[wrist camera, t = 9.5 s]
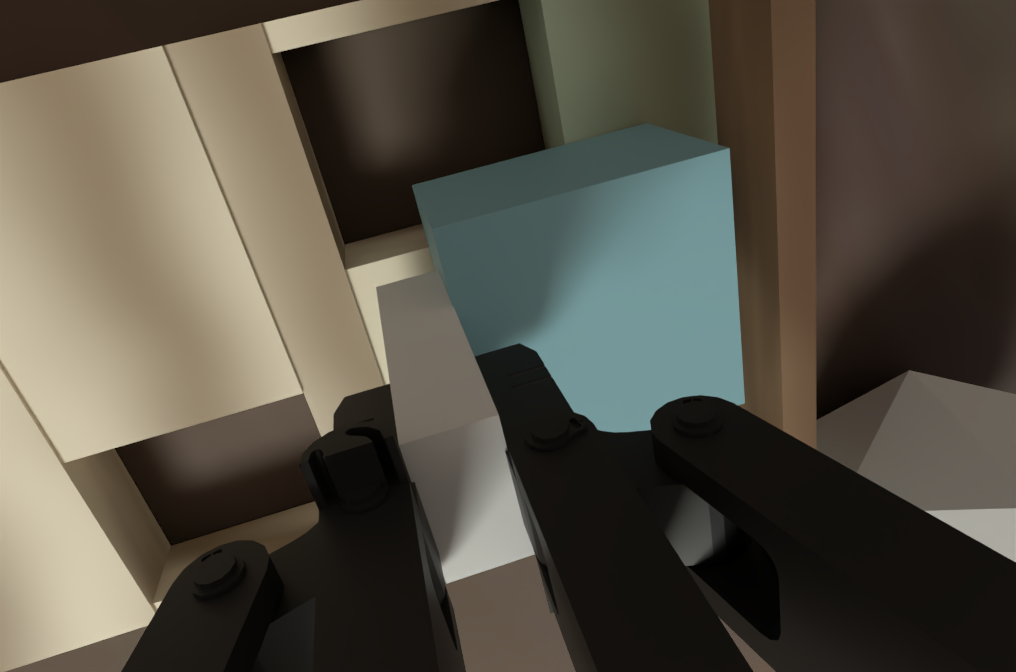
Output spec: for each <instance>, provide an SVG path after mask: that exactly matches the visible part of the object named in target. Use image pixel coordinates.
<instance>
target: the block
mask: <svg viewBox="0 0 1016 672" xmlns="http://www.w3.org/2000/svg"><path fill="white" fill-rule="evenodd" d="M412 188H413V192H414V196H415V199H416V203H417V206H418V210H419V214H420V217H421V221H422V225H423V228H424V232H425V235H426V239H427V243H428V246H429V250H430V253H431V257H432V261H433V264H434V268H435V270H438V272H439V274H440V276H441V279H442V281H443V284H444V286H445V289H446V291H447V294H448V296H449V299H450V301H451V304H452V306H453V307H454V309H455V311H456V314H457V316H458V318H459V321H460V323H461V326H462V328H463V330H464V333H465V335H466V338H467V340H468V342H469V345H470V347H471V350H472V352H473V354H474V356H478V355H481V354H485V353H488V352H491V351H495V350H498V349H501V348H505V347H508V346H511V345H515V344H518V343H520V344H522V345H524V346H526V347H528V348H530V349H533V350H535V351H537V353H538V355H539V356H540V358H541V360H542V361H543V363H544V365H545V367H546V368H547V369H548V371H549V373H550V374H551V377H553V379H554V381H555V382H556V384H557V386H558V387H559V389H560V390H561V392H562V394H563V395H564V397H565V399H566V400H567V402H568V403H569V405H570V407H571V408H572V410H573V412H575V413H578V414H581V415H584V416H586V417H587V418H588V419H589V420H590V421H591V422H592V423H594V425H595V426H596V428H597V430H600V431H607V432H634V431H644V430H651V424H650V420H651V418H652V417H653V415H654V413H655V411H656V410H657V409H659V408H660V407H662V406H663V405H664V404H666V403H667V402H670V401H673V400H676V399H679V398H682V397H688V396H698V395H703V396H712V397H719V398H722V399H724V400H727V401H730V402H732V403H734V404H736V405H741V404H744V403H745V396H744V379H743V363H742V346H741V329H740V313H739V296H738V280H737V263H736V246H735V230H734V213H733V197H732V180H731V163H730V148H727V147H724V146H721V145H718V144H714V143H711V142H708V141H704V140H701V139H698V138H695V137H691V136H688V135H685V134H681V133H678V132H675V131H672V130H668V129H665V128H662V127H658V126H655V125H652V124H649V123H645V124H641V125H638V126H634V127H630V128H626V129H622V130H619V131H615V132H611V133H607V134H603V135H600V136H596V137H592V138H588V139H585V140H581V141H577V142H573V143H569V144H566V145H562V146H558V147H554V148H550V149H547V150H543V151H539V152H535V153H532V154H528V155H524V156H520V157H516V158H513V159H509V160H505V161H501V162H498V163H494V164H490V165H486V166H482V167H479V168H475V169H471V170H467V171H463V172H460V173H456V174H452V175H448V176H445V177H441V178H437V179H433V180H429V181H426V182H422V183H418V184H414V185H412Z"/></svg>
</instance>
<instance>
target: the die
mask: <svg viewBox="0 0 1016 672" xmlns="http://www.w3.org/2000/svg"><path fill="white" fill-rule="evenodd" d="M816 450H818V451H819V452H821V453H823V454H825V455H826V456H828V457H830V458H832V459H834V460H835V461H837V462H839V463H841V464H842V465H844V466H846V467H848V468H849V469H851V470H853V471H855V472H857V473H858V474H860V475H862V476H864V477H865V478H867V479H869V480H871V481H872V482H874V483H876V484H878V485H880V486H881V487H883V488H885V489H887V490H888V491H890V492H892V493H894V494H895V495H897V496H899V497H901V498H903V499H904V500H906V501H908V502H910V503H911V504H913V505H915V506H917V507H918V508H920V509H922V510H924V511H926V512H927V513H929V514H931V515H933V516H934V517H936V518H938V519H940V520H942V521H943V522H945V523H947V524H949V525H950V526H952V527H954V528H956V529H957V530H959V531H961V532H963V533H965V534H966V535H968V536H970V537H972V538H973V539H975V540H977V541H979V542H980V543H982V544H984V545H986V546H988V547H989V548H991V549H993V550H995V551H996V552H998V553H1000V554H1002V555H1003V556H1005V557H1007V558H1009V559H1011V560H1012V561H1014V562H1016V394H1012V393H1007V392H1003V391H999V390H994V389H990V388H985V387H981V386H977V385H972V384H968V383H963V382H959V381H955V380H950V379H946V378H941V377H937V376H932V375H928V374H924V373H919V372H915V371H910V370H909V371H907V372H905V373H903V374H901V375H899V376H897V377H896V378H894V379H892V380H890V381H888V382H886V383H884V384H883V385H881V386H879V387H877V388H875V389H873V390H871V391H870V392H868V393H866V394H864V395H862V396H860V397H859V398H857V399H855V400H853V401H851V402H849V403H847V404H846V405H844V406H842V407H840V408H838V409H836V410H834V411H833V412H831V413H829V414H827V415H825V416H823V417H821V418H820V419H818V420H816Z"/></svg>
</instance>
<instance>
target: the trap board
mask: <svg viewBox="0 0 1016 672" xmlns="http://www.w3.org/2000/svg"><path fill="white" fill-rule="evenodd" d="M493 1H498V0H360V1H356V2H351V3H347V4H343V5H338V6H334V7H329V8H325V9H321V10H316V11H312V12H308V13H303V14H299V15H295V16H290V17H286V18H282V19H277V20H273V21H269V22H264V23H259V24H255V25H251V26H246V27H242V28H238V29H233V30H229V31H225V32H220V33H216V34H212V35H207V36H203V37H199V38H194V39H190V40H186V41H181V42H177V43H173V44H168V45H164V46H159V47H155V48H150V49H146V50H142V51H137V52H133V53H129V54H124V55H120V56H116V57H111V58H107V59H102V60H98V61H94V62H89V63H85V64H81V65H76V66H72V67H68V68H63V69H59V70H55V71H50V72H46V73H42V74H37V75H33V76H29V77H24V78H20V79H16V80H11V81H7V82H3V83H0V672H5V671H8V670H11V669H14V668H17V667H20V666H24V665H27V664H30V663H33V662H36V661H39V660H42V659H45V658H48V657H51V656H55V655H58V654H61V653H64V652H67V651H70V650H73V649H76V648H79V647H82V646H86V645H89V644H92V643H95V642H98V641H101V640H104V639H107V638H110V637H113V636H117V635H120V634H123V633H126V632H129V631H132V630H135V629H138V628H141V627H144V626H148V625H149V623H150V621H151V620H152V618H153V616H154V614H155V613H156V611H157V609H158V608H159V606H160V604H161V602H162V601H163V599H164V597H165V595H166V594H167V592H168V590H169V588H170V587H171V585H172V583H173V582H174V581H175V580H176V578H177V577H178V576H179V575H180V573H181V572H182V571H183V569H184V568H186V567H187V566H188V565H189V564H191V563H192V562H193V561H194V560H196V559H197V558H198V557H199V556H200V555H202V554H204V553H206V552H208V551H210V550H212V549H214V548H216V547H217V546H219V545H223V544H226V543H230V542H233V541H237V540H254V541H256V542H258V543H260V544H262V545H264V546H265V548H266V550H267V552H268V554H270V553H272V552H274V551H276V550H278V549H279V548H281V547H283V546H285V545H287V544H288V543H290V542H292V541H294V540H295V539H297V538H298V537H300V536H302V535H303V534H305V533H306V532H307V531H309V530H310V529H311V528H312V527H313V526H314V525H316V524H317V523H318V521H319V509H318V507H317V505H316V502H315V501H314V502H311V503H307V504H304V505H301V506H298V507H295V508H291V509H288V510H285V511H282V512H278V513H275V514H272V515H269V516H266V517H262V518H259V519H256V520H253V521H249V522H246V523H243V524H240V525H237V526H233V527H230V528H227V529H224V530H221V531H217V532H214V533H211V534H208V535H204V536H201V537H198V538H195V539H192V540H188V541H185V542H182V543H179V544H175V545H172V546H171V545H170V543H169V542H168V540H167V538H166V536H165V535H164V533H163V531H162V529H161V528H160V526H159V524H158V523H157V521H156V519H155V517H154V516H153V514H152V512H151V511H150V509H149V507H148V505H147V504H146V502H145V500H144V498H143V497H142V495H141V493H140V492H139V490H138V488H137V486H136V485H135V483H134V481H133V479H132V478H131V476H130V474H129V473H128V471H127V469H126V467H125V466H124V464H123V462H122V461H121V459H120V457H119V455H118V454H117V452H116V450H115V448H117V447H121V446H124V445H127V444H131V443H134V442H138V441H141V440H145V439H148V438H151V437H155V436H158V435H162V434H165V433H168V432H172V431H175V430H179V429H182V428H186V427H189V426H192V425H196V424H199V423H203V422H206V421H209V420H213V419H216V418H220V417H223V416H227V415H230V414H233V413H237V412H240V411H244V410H247V409H251V408H254V407H257V406H261V405H264V404H268V403H271V402H274V401H278V400H281V399H285V398H288V397H292V396H295V395H298V394H302V393H304V395H305V397H306V400H307V402H308V405H309V407H310V410H311V412H312V415H313V417H314V420H315V422H316V425H317V427H318V429H319V432H320V434H321V437H322V436H324V435H325V434H327V433H328V432H330V431H333V416H334V412H335V411H336V409H337V408H338V406H339V405H340V403H341V402H342V400H343V399H344V397H346V396H349V395H353V394H356V393H360V392H363V391H366V390H370V389H373V388H376V387H380V386H383V385H387V384H390V381H389V374H388V367H387V360H386V353H385V346H384V339H383V332H382V326H381V319H380V312H379V305H378V298H377V291H376V287H378V286H381V285H385V284H389V283H392V282H396V281H399V280H403V279H406V278H410V277H414V276H417V275H421V274H424V273H428V272H432V271H435V268H434V264H433V261H432V257H431V253H430V250H429V246H428V243H427V239H426V235H425V232H424V228H423V225H422V224H419V225H416V226H412V227H408V228H404V229H401V230H397V231H393V232H390V233H386V234H382V235H379V236H375V237H371V238H367V239H364V240H360V241H356V242H353V243H349V244H344V241H343V238H342V235H341V232H340V229H339V226H338V223H337V220H336V217H335V214H334V211H333V208H332V205H331V202H330V199H329V196H328V193H327V190H326V187H325V184H324V181H323V178H322V175H321V172H320V170H319V167H318V164H317V161H316V158H315V155H314V152H313V149H312V146H311V143H310V140H309V137H308V134H307V131H306V128H305V125H304V122H303V119H302V116H301V113H300V110H299V107H298V104H297V101H296V98H295V95H294V92H293V89H292V86H291V83H290V80H289V77H288V74H287V71H286V68H285V65H284V62H283V59H282V56H281V53H280V52H281V51H286V50H290V49H294V48H298V47H303V46H307V45H311V44H315V43H319V42H324V41H328V40H332V39H336V38H341V37H345V36H349V35H353V34H358V33H362V32H366V31H370V30H375V29H379V28H383V27H387V26H392V25H396V24H400V23H404V22H409V21H413V20H417V19H421V18H425V17H430V16H434V15H438V14H442V13H447V12H451V11H455V10H459V9H464V8H468V7H472V6H476V5H481V4H485V3H489V2H493ZM518 1H519V6H520V12H521V17H522V23H523V28H524V34H525V39H526V45H527V50H528V56H529V61H530V67H531V72H532V78H533V83H534V89H535V95H536V100H537V106H538V111H539V117H540V122H541V128H542V133H543V139H544V144H545V150H547V149H550V148H554V147H558V146H562V145H566V144H569V143H573V142H577V141H581V140H585V139H588V138H592V137H596V136H600V135H603V134H607V133H611V132H615V131H619V130H622V129H626V128H630V127H634V126H638V125H641V124H645V123H649V124H652V125H655V126H658V127H662V128H665V129H668V130H672V131H675V132H678V133H681V134H685V135H688V136H691V137H695V138H698V139H701V140H704V141H708V142H711V143H714V144H718V145H721V146H724V147H727V148H730V163H731V180H732V197H733V213H734V230H735V246H736V263H737V280H738V296H739V313H740V329H741V346H742V363H743V379H744V396H745V403H744V404H741V405H738V406H740V407H742V408H743V409H745V410H747V411H749V412H750V413H752V414H754V415H756V416H757V417H759V418H761V419H763V420H765V421H766V422H768V423H770V424H772V425H773V426H775V427H777V428H779V429H780V430H782V431H784V432H786V433H788V434H789V435H791V436H793V437H795V438H796V439H798V440H800V441H802V442H803V443H805V444H807V445H809V446H811V447H812V448H814V449H816V12H815V0H518Z"/></svg>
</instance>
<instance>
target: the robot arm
mask: <svg viewBox="0 0 1016 672" xmlns="http://www.w3.org/2000/svg"><path fill="white" fill-rule="evenodd" d="M376 291H377V298H378V305H379V312H380V319H381V326H382V332H383V339H384V346H385V353H386V360H387V367H388V374H389V381H390V384H387V385H383V386H380V387H376V388H373V389H370V390H366V391H363V392H360V393H356V394H353V395H349V396H346V397H344V399H343V400H342V402H341V403H340V405H339V406H338V408H337V409H336V411H335V412H334V416H333V431H330V432H328V433H327V434H325V435H324V436H322V437H321V438H319V439H318V440H316V441H315V442H313V443H312V445H311V446H310V447H309V448H308V449H307V450H306V451H305V452H304V453H303V456H302V458H301V461H300V463H299V466H300V468H301V470H302V473H303V475H304V477H305V479H306V482H307V484H308V486H309V489H310V491H311V493H312V496H313V498H314V500H315V502H316V505H317V507H318V509H319V521H318V523H317V524H316V525H314V526H313V527H312V528H311V529H310V530H309V531H307V532H306V533H305V534H303V535H302V536H300V537H298V538H297V539H295V540H294V541H292V542H290V543H288V544H287V545H285V546H283V547H281V548H279V549H278V550H276V551H274V552H272V553H270V554H268V552H267V550H266V548H265V546H264V545H262V544H260V543H258V542H256V541H254V540H237V541H233V542H230V543H226V544H223V545H219V546H217V547H216V548H214V549H212V550H210V551H208V552H206V553H204V554H202V555H200V556H199V557H198V558H197V559H196V560H194V561H193V562H192V563H191V564H189V565H188V566H187V567H186V568H184V569H183V571H182V572H181V573H180V575H179V576H178V577H177V578H176V580H175V581H174V582H173V583H172V585H171V587H170V588H169V590H168V592H167V594H166V595H165V597H164V599H163V601H162V602H161V604H160V606H159V608H158V609H157V611H156V613H155V614H154V616H153V618H152V620H151V621H150V623H149V625H148V627H147V628H146V630H145V632H144V634H143V635H142V637H141V639H140V640H139V642H138V644H137V646H136V647H135V649H134V651H133V653H132V654H131V656H130V658H129V660H128V661H127V663H126V665H125V667H124V668H123V670H122V672H466V670H465V665H464V660H463V655H462V650H461V645H460V640H459V635H458V630H457V625H456V619H455V614H454V609H453V606H452V603H451V601H450V598H449V595H448V592H447V589H446V586H445V582H444V578H445V581H446V584H447V583H450V582H453V581H456V580H459V579H462V578H465V577H468V576H471V575H474V574H477V573H480V572H483V571H486V570H489V569H492V568H495V567H498V566H501V565H504V564H507V563H510V562H513V561H516V560H519V559H522V558H525V557H528V556H531V555H534V552H535V554H536V558H537V562H538V566H539V570H540V574H541V578H542V582H543V586H544V589H545V593H546V597H547V601H548V605H549V609H550V613H553V612H554V613H555V616H556V619H557V622H558V624H559V627H560V630H561V632H562V635H563V638H564V641H565V643H566V646H567V649H568V651H569V654H570V657H571V660H572V662H573V665H574V668H575V671H576V672H753V670H752V669H751V667H750V666H749V664H748V663H747V661H746V660H745V658H744V656H743V655H742V653H741V652H740V650H739V649H738V647H737V646H736V644H735V642H734V641H733V639H732V638H731V636H730V635H729V633H728V632H727V630H726V628H725V627H724V625H723V624H722V622H721V621H720V619H722V620H723V621H724V622H725V623H726V624H727V625H728V626H729V627H730V628H731V629H732V630H733V631H734V632H735V633H736V634H737V635H738V636H739V637H740V638H741V639H742V640H743V641H745V642H746V643H747V644H748V645H749V646H750V647H751V648H752V649H753V650H754V651H755V652H756V653H757V654H758V655H759V656H760V657H761V658H762V659H763V660H764V661H765V662H766V663H768V664H769V665H770V666H771V667H772V668H773V669H774V670H775V671H776V672H1016V562H1014V561H1012V560H1011V559H1009V558H1007V557H1005V556H1003V555H1002V554H1000V553H998V552H996V551H995V550H993V549H991V548H989V547H988V546H986V545H984V544H982V543H980V542H979V541H977V540H975V539H973V538H972V537H970V536H968V535H966V534H965V533H963V532H961V531H959V530H957V529H956V528H954V527H952V526H950V525H949V524H947V523H945V522H943V521H942V520H940V519H938V518H936V517H934V516H933V515H931V514H929V513H927V512H926V511H924V510H922V509H920V508H918V507H917V506H915V505H913V504H911V503H910V502H908V501H906V500H904V499H903V498H901V497H899V496H897V495H895V494H894V493H892V492H890V491H888V490H887V489H885V488H883V487H881V486H880V485H878V484H876V483H874V482H872V481H871V480H869V479H867V478H865V477H864V476H862V475H860V474H858V473H857V472H855V471H853V470H851V469H849V468H848V467H846V466H844V465H842V464H841V463H839V462H837V461H835V460H834V459H832V458H830V457H828V456H826V455H825V454H823V453H821V452H819V451H818V450H816V449H814V448H812V447H811V446H809V445H807V444H805V443H803V442H802V441H800V440H798V439H796V438H795V437H793V436H791V435H789V434H788V433H786V432H784V431H782V430H780V429H779V428H777V427H775V426H773V425H772V424H770V423H768V422H766V421H765V420H763V419H761V418H759V417H757V416H756V415H754V414H752V413H750V412H749V411H747V410H745V409H743V408H742V407H740V406H738V405H736V404H734V403H732V402H730V401H727V400H724V399H722V398H719V397H712V396H703V395H698V396H688V397H682V398H679V399H676V400H673V401H670V402H667V403H666V404H664V405H663V406H662V407H660V408H659V409H657V410H656V411H655V413H654V415H653V417H652V418H651V420H650V424H651V430H644V431H634V432H607V431H600V430H597V428H596V426H595V425H594V423H592V422H591V421H590V420H589V419H588V418H587V417H586V416H584V415H581V414H578V413H575V412H573V410H572V408H571V407H570V405H569V403H568V402H567V400H566V399H565V397H564V395H563V394H562V392H561V390H560V389H559V387H558V386H557V384H556V382H555V381H554V379H553V377H551V374H550V373H549V371H548V369H547V368H546V367H545V365H544V363H543V361H542V360H541V358H540V356H539V355H538V353H537V351H535V350H533V349H530V348H528V347H526V346H524V345H522V344H520V343H518V344H515V345H511V346H508V347H505V348H501V349H498V350H495V351H491V352H488V353H485V354H481V355H478V356H474V354H473V352H472V350H471V347H470V345H469V342H468V340H467V338H466V335H465V333H464V330H463V328H462V326H461V323H460V321H459V318H458V316H457V314H456V311H455V309H454V307H453V306H452V304H451V301H450V299H449V296H448V294H447V291H446V289H445V286H444V284H443V281H442V279H441V276H440V274H439V272H438V270H435V271H432V272H428V273H424V274H421V275H417V276H414V277H410V278H406V279H403V280H399V281H396V282H392V283H389V284H385V285H381V286H378V287H376ZM443 575H444V576H443ZM718 617H719V618H720V619H719V618H718Z"/></svg>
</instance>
